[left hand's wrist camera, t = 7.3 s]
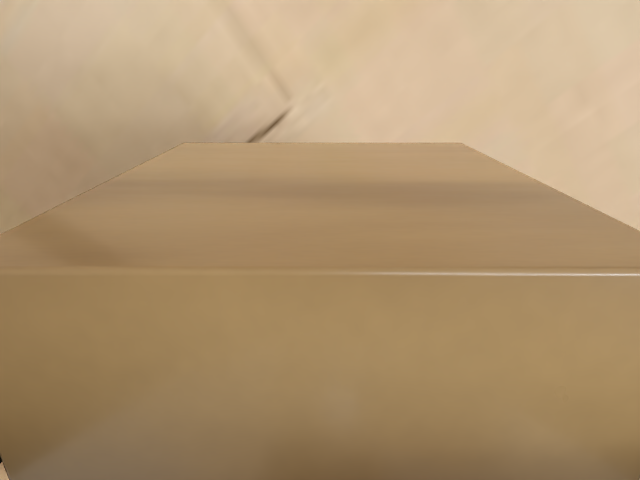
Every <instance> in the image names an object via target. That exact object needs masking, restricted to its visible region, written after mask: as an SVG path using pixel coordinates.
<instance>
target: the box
mask: <svg viewBox="0 0 640 480" xmlns="http://www.w3.org/2000/svg"><path fill="white" fill-rule="evenodd" d="M0 457H1V459H2V462H3V464H4V467H5V470H6V472H7V475H8V478H9V480H639V479H640V231H639V230H637V229H635V228H633V227H631V226H629V225H627V224H625V223H622V222H620V221H618V220H616V219H614V218H612V217H610V216H608V215H606V214H604V213H602V212H600V211H598V210H596V209H594V208H592V207H590V206H588V205H586V204H584V203H582V202H580V201H578V200H576V199H574V198H572V197H570V196H568V195H566V194H564V193H562V192H560V191H558V190H556V189H554V188H551V187H549V186H547V185H545V184H543V183H541V182H539V181H537V180H535V179H533V178H531V177H529V176H527V175H525V174H523V173H521V172H519V171H517V170H515V169H513V168H511V167H509V166H507V165H505V164H503V163H501V162H499V161H497V160H495V159H493V158H491V157H489V156H487V155H485V154H483V153H480V152H478V151H476V150H474V149H472V148H470V147H468V146H466V145H464V144H462V143H182V144H180V145H178V146H176V147H174V148H172V149H170V150H168V151H166V152H164V153H162V154H160V155H158V156H156V157H154V158H152V159H150V160H148V161H146V162H144V163H142V164H140V165H138V166H136V167H134V168H132V169H130V170H128V171H126V172H124V173H122V174H120V175H118V176H116V177H114V178H112V179H110V180H108V181H106V182H104V183H102V184H100V185H98V186H96V187H94V188H92V189H90V190H88V191H86V192H84V193H82V194H80V195H78V196H76V197H74V198H72V199H71V200H69V201H67V202H65V203H63V204H61V205H59V206H57V207H55V208H53V209H51V210H49V211H47V212H45V213H43V214H41V215H39V216H37V217H35V218H33V219H31V220H29V221H27V222H25V223H23V224H21V225H19V226H17V227H15V228H13V229H11V230H9V231H7V232H5V233H3V234H1V235H0Z"/></svg>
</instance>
